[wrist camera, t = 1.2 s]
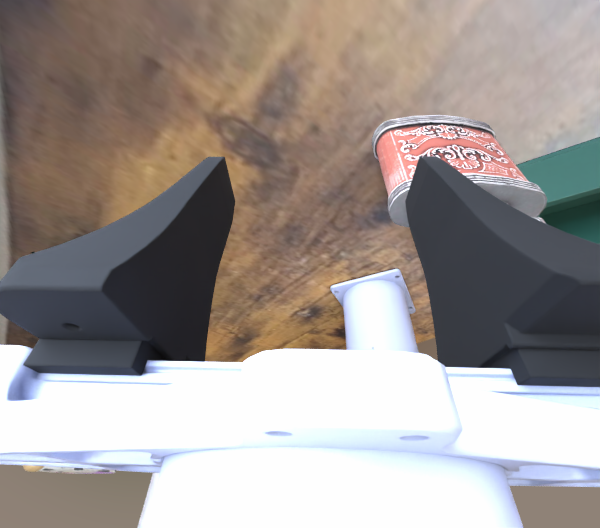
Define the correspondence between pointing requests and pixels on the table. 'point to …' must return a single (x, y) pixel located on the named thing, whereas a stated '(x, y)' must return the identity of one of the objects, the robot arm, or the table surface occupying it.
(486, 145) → the lighter
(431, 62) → the table surface
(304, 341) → the table surface
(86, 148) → the table surface
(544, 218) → the green open box
